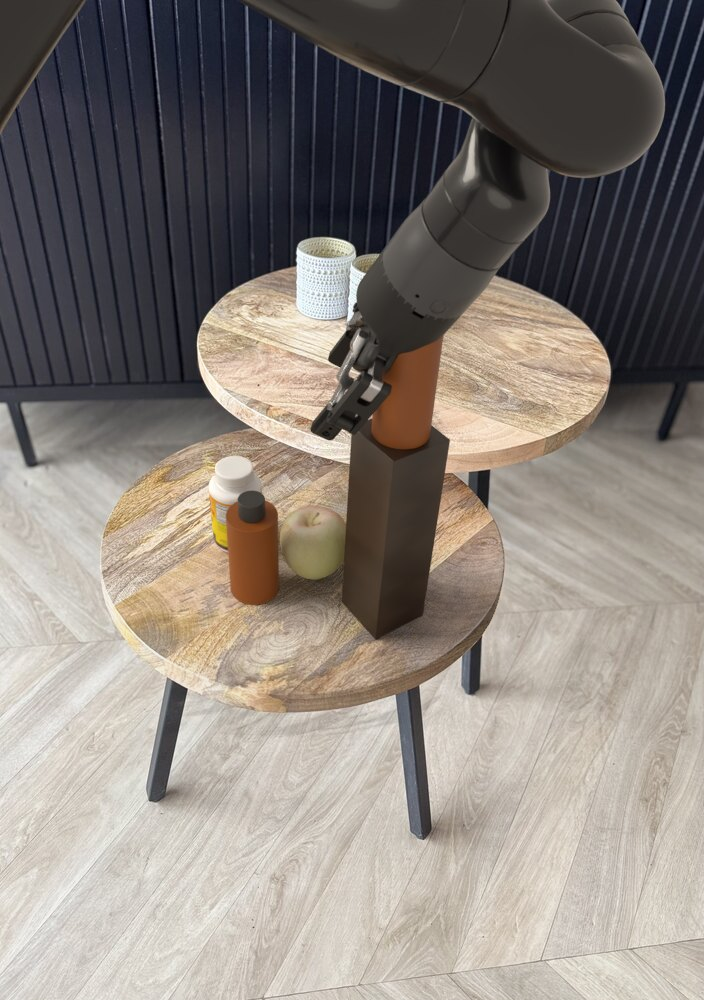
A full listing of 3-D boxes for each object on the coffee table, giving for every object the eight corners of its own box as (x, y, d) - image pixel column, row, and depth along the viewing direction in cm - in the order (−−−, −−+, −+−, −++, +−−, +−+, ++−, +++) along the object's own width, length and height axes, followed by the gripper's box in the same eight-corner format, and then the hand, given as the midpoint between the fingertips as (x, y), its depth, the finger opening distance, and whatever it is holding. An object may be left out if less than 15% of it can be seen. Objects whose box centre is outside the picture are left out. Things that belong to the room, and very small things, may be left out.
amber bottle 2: (394, 456, 66) (408, 323, 58) (359, 426, 69) (368, 296, 61) (442, 438, 68) (461, 307, 60) (406, 410, 71) (419, 282, 64)
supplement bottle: (227, 518, 92) (222, 445, 86) (271, 530, 91) (270, 458, 84) (204, 548, 88) (197, 475, 82) (250, 562, 87) (246, 489, 80)
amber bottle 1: (245, 611, 81) (240, 522, 74) (222, 581, 84) (215, 493, 77) (287, 592, 84) (287, 504, 76) (263, 564, 87) (261, 476, 79)
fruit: (360, 578, 86) (364, 521, 81) (297, 599, 83) (297, 542, 78) (329, 534, 91) (331, 478, 86) (268, 552, 88) (267, 496, 83)
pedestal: (375, 639, 79) (393, 461, 65) (341, 601, 83) (351, 425, 69) (423, 615, 82) (450, 439, 68) (388, 579, 86) (407, 405, 72)
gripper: (397, 192, 62) (306, 324, 74) (371, 315, 54) (273, 440, 66) (477, 240, 64) (376, 360, 76) (464, 365, 56) (353, 477, 68)
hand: (329, 397), depth 71 cm, fingers open, 8 cm apart
